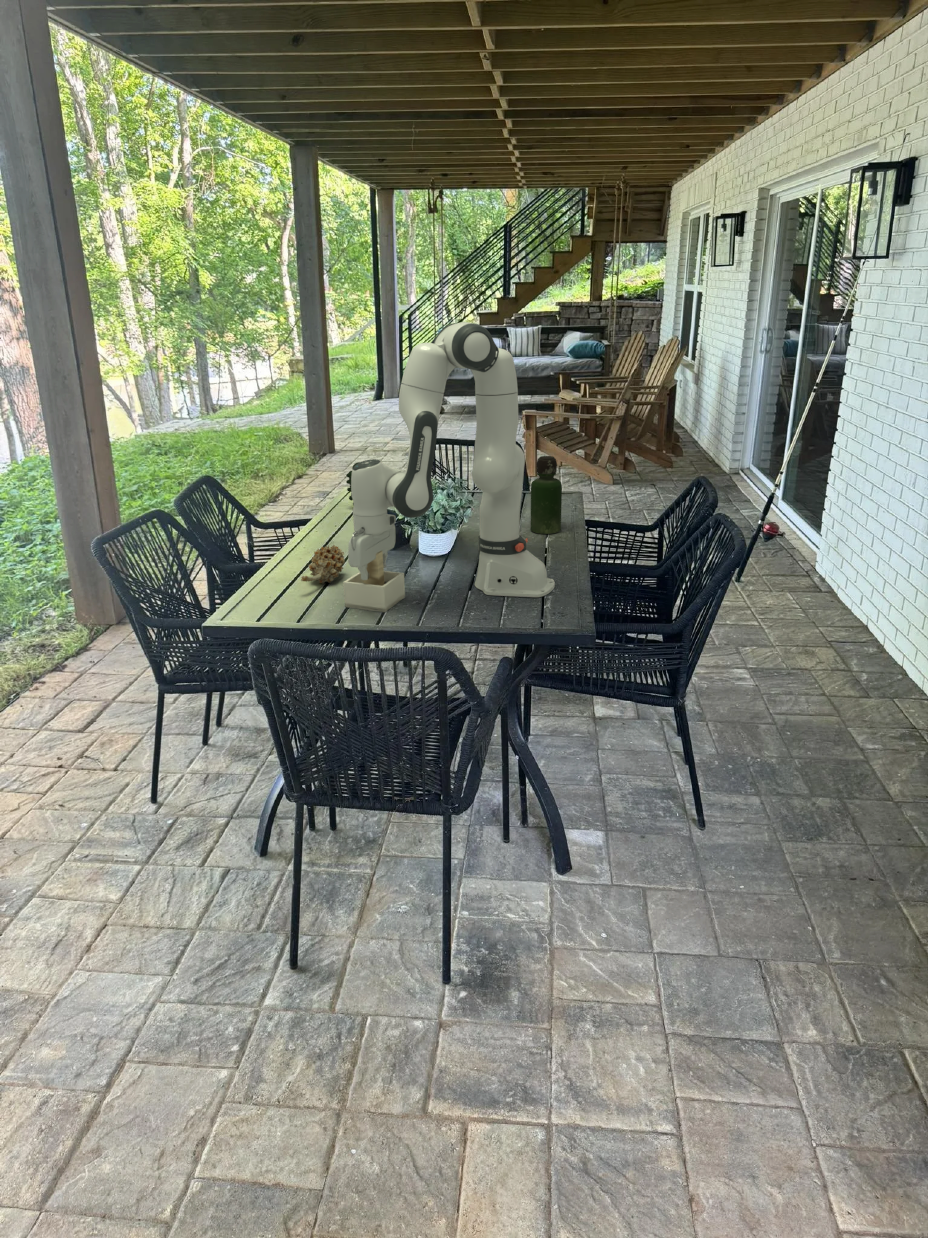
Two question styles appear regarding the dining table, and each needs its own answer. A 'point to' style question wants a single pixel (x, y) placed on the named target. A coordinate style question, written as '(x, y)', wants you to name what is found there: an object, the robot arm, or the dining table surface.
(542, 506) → the green bottle
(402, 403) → the robot arm
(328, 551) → the pine cone
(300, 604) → the dining table surface
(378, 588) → the square planter tray
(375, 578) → the tall tan wooden post
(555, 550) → the dining table surface
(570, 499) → the dining table surface
